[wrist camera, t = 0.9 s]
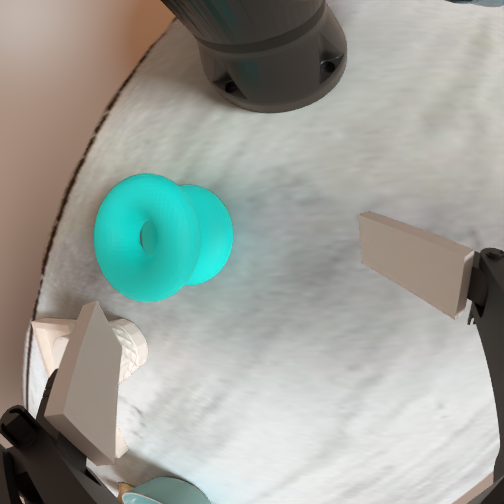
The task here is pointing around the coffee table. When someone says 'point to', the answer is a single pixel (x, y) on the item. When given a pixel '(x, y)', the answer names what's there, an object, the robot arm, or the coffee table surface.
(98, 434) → the robot arm
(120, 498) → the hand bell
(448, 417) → the coffee table surface
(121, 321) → the white cup
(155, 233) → the donuts
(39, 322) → the tray
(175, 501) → the bowl
